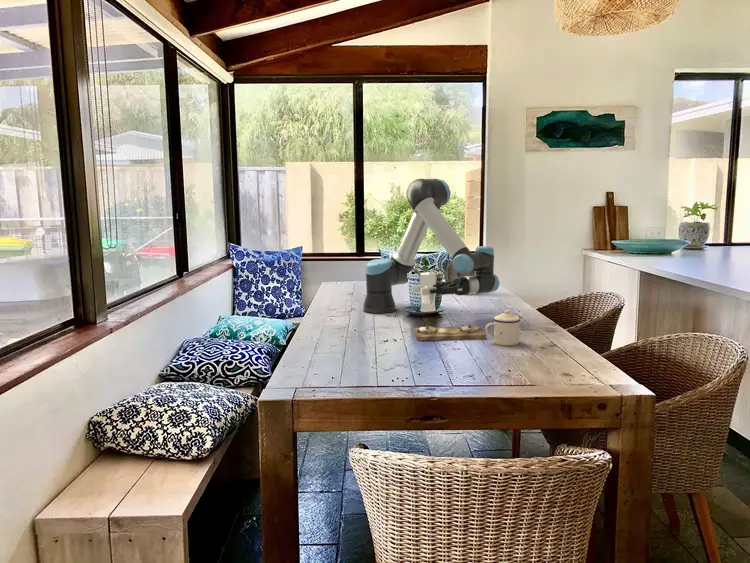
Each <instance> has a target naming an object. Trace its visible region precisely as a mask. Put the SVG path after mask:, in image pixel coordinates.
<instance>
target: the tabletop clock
mask: <svg viewBox="0 0 750 563" xmlns="http://www.w3.org/2000/svg"><path fill="white" fill-rule="evenodd" d="M452 262H453V260H451V261H448V262H446V264H445V267H444V282H452V283H453V281H454V279H455V278H457V277H465V276H475V271H473V272H469V273H458V272H456V271H455V270H454V268H453V264H452ZM468 295H469V294H468ZM469 296H470V295H469Z"/></svg>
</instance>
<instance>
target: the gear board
mask: <svg viewBox="0 0 750 563" xmlns="http://www.w3.org/2000/svg"><path fill="white" fill-rule="evenodd" d="M413 334H414V337H415V338H417V339H416V341H417V342H421V341H422V342H424V341H425V340H428V341H454V340H453V339H466V340H486V339H487V335H486V334H485V332H484V331H483V330H482V329H481V327H480V326H476V325H474V324H473V325H472V324H468V325H461V326H440V327H439V326H437V327H436V326H435V327H433V326H429V325H426V326H419V327H413ZM423 340H424V341H423Z"/></svg>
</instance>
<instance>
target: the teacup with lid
mask: <svg viewBox="0 0 750 563" xmlns="http://www.w3.org/2000/svg"><path fill="white" fill-rule="evenodd" d="M520 321H521V319H520V317H519V315H518V316H517V315H515V314H514V313H511V312H510V310H509V309H505V310H504V311H503V312H502V313H500V314H499V315H495V316H494V317H493V322H489V323H487V324H486V325H485V327H484V328H485V329H484V330H485V333H486V334H487V335H488V336H489V337H492V338H493V342H494V343H495V345H499V346H503V347H504V346H505V347H511V346H516V345H517V346H518V344H519V342H520ZM490 326H493V331H494V332H493V334H492V333H490V332H489V330H488V329H489V327H490Z"/></svg>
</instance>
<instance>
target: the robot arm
mask: <svg viewBox="0 0 750 563" xmlns="http://www.w3.org/2000/svg"><path fill="white" fill-rule="evenodd" d="M450 198H451V190H450V185H449V184H448V183H447V181H445V180H443V179H438V178H417V179H415V180H413V181H412V182H411V183H410V184H409V185H408V186H407V189H406V200H407V202H408V205H409V207H410V208H411V210H412V211H413V214H412V217H411V219H410V221H409V223H408V226H407V228H406V230H405V233H404V236H403V238H402V240H401V242H400V245H399V247H398V249H397V251H394V252H393V253H392V255H391V256H390V258H378V259H376V258H375V259H371V260H369V261H368V262H367V263H366V265H365V283H366V284H365V286H366V295H365V298H364V302H363V305H362V311H363V310H364V311H366V312H365V313H368V312H371V313H370V314H387V313H388V312H389V313H392V312H393V313H394V312H395V311H396V310H397V309H396V307H397V306H396V302H395V299H394V296H393V294H392V293H393V292H392V291H393V290H392V289H393V288H392V287H393V286H399V285H405V284H407V283H409V282H408V278H407V273H409V272H410V271H411V270H412V269H413V267H414V266H416V260H415V258H416V256H417V253H418V251H419V249H420V246H421V244H422V243H423V240H424V237H425V235H426V233H427V231H428V229H430V231H431V232H432V233H433V235H434V236H435V238H436V239H437V240H438V241H439V243H440V244H441V245H442V247H443V248H444V250H445V251H446V252H447V254H448V255H449V256H450V258H451V259H452V261H453V262H452V264H453V268H454V270H455V271H456V272H458V273H469V272H473V271H475V276H465V277H457V278H455V279H454V281H453V283H452V282H445V281H440V282H438V281H437V287H432V288H421V295H422V296H424V295H433V294H436V295H441V296H444V295H452V294H455V295H456V296H466V295H468V294H469V296H473V295H475V294H486V293H487V294H489V293H492V292H496V291H497V290H498V289H499V287H500V280H499V279H500V278H499V276H498V275H497V274H495V272H494V268H495V267H494V266H495V251H494V250H495V249H494V247H493V246H489V245H488V246H486V245H483V246H482V245H481V246H476V248H475V251H474V252H471V250H470V249H469V248H468V246H466V244H465V243H464V241H463V240H462V238H460V236H459V234H458V233H457V231H455V230H454V228H453V227H452V226H451V224H450V223H449V221H448V220H447V219H446V218H445V216H444V215H443V214H442V212H441V211H440V210H441V207H444V206H445V205H447V204H448V203H449V201H450ZM411 293H415V294H416V293H420V289H419V284H418V285H411ZM421 295H420V296H421ZM364 311H363V312H364ZM389 313H388V314H389Z"/></svg>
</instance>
